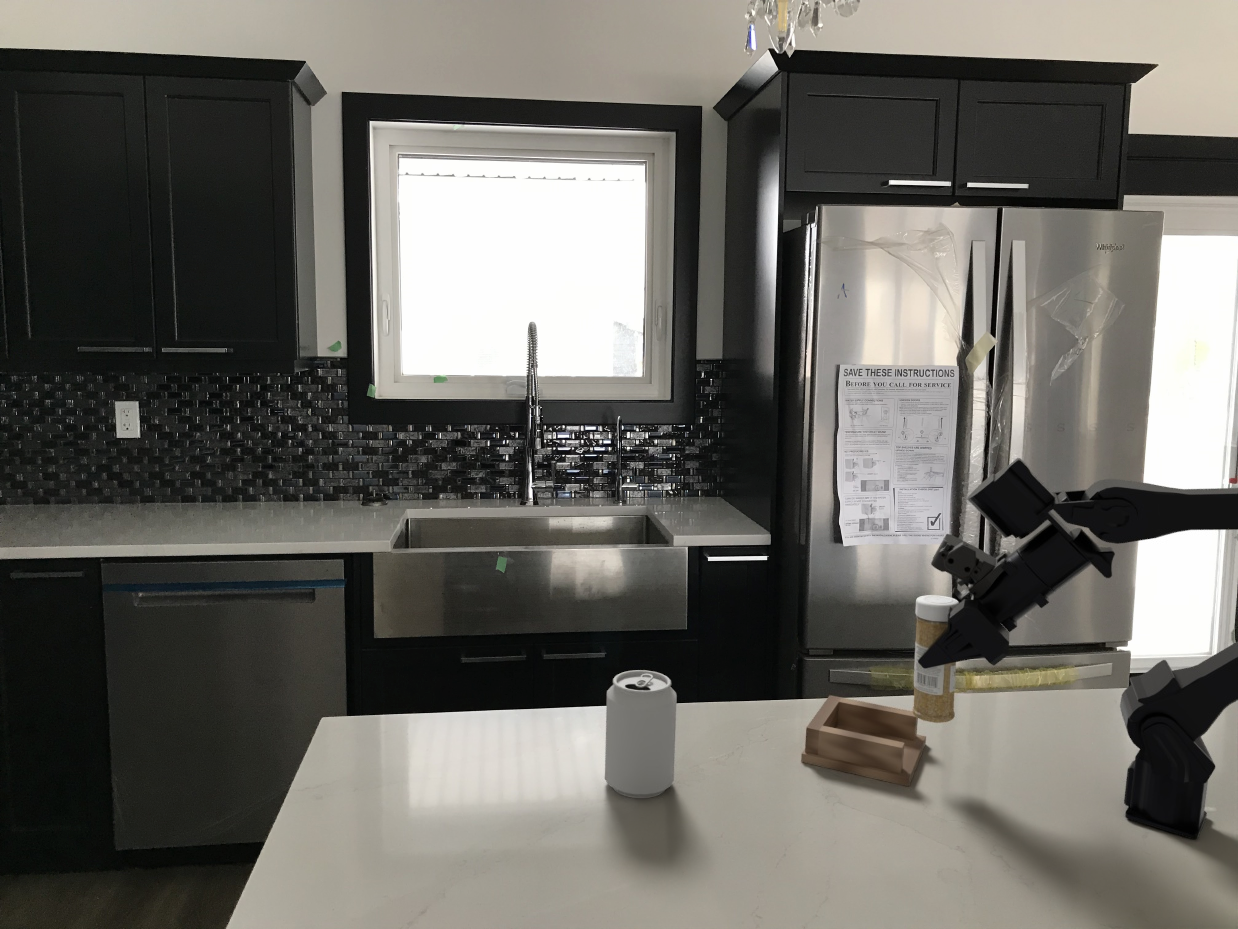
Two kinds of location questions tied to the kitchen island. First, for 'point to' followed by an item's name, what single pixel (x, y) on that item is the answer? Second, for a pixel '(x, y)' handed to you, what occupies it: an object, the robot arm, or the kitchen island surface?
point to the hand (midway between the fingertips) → (922, 658)
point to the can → (640, 734)
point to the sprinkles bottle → (937, 681)
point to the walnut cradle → (864, 740)
